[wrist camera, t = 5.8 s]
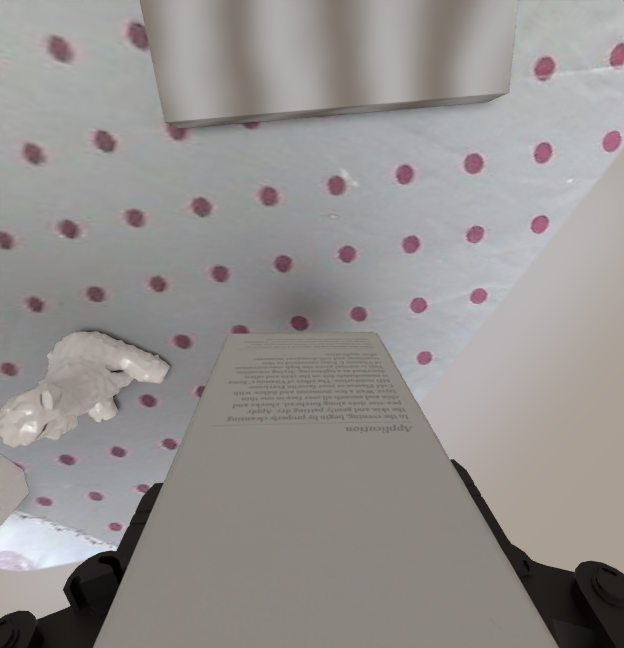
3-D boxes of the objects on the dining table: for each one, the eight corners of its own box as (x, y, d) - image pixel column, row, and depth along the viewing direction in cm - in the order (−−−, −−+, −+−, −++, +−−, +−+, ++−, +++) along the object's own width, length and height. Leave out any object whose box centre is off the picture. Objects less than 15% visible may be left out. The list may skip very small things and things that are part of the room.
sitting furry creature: (109, 417, 37) (27, 519, 25) (39, 357, 34) (-87, 443, 23) (176, 367, 35) (121, 454, 24) (109, 301, 32) (10, 363, 21)
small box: (367, 478, 18) (529, 1128, 5) (238, 481, 17) (108, 1179, 5) (381, 326, 15) (803, 1024, 2) (225, 327, 14) (-157, 1130, 2)
